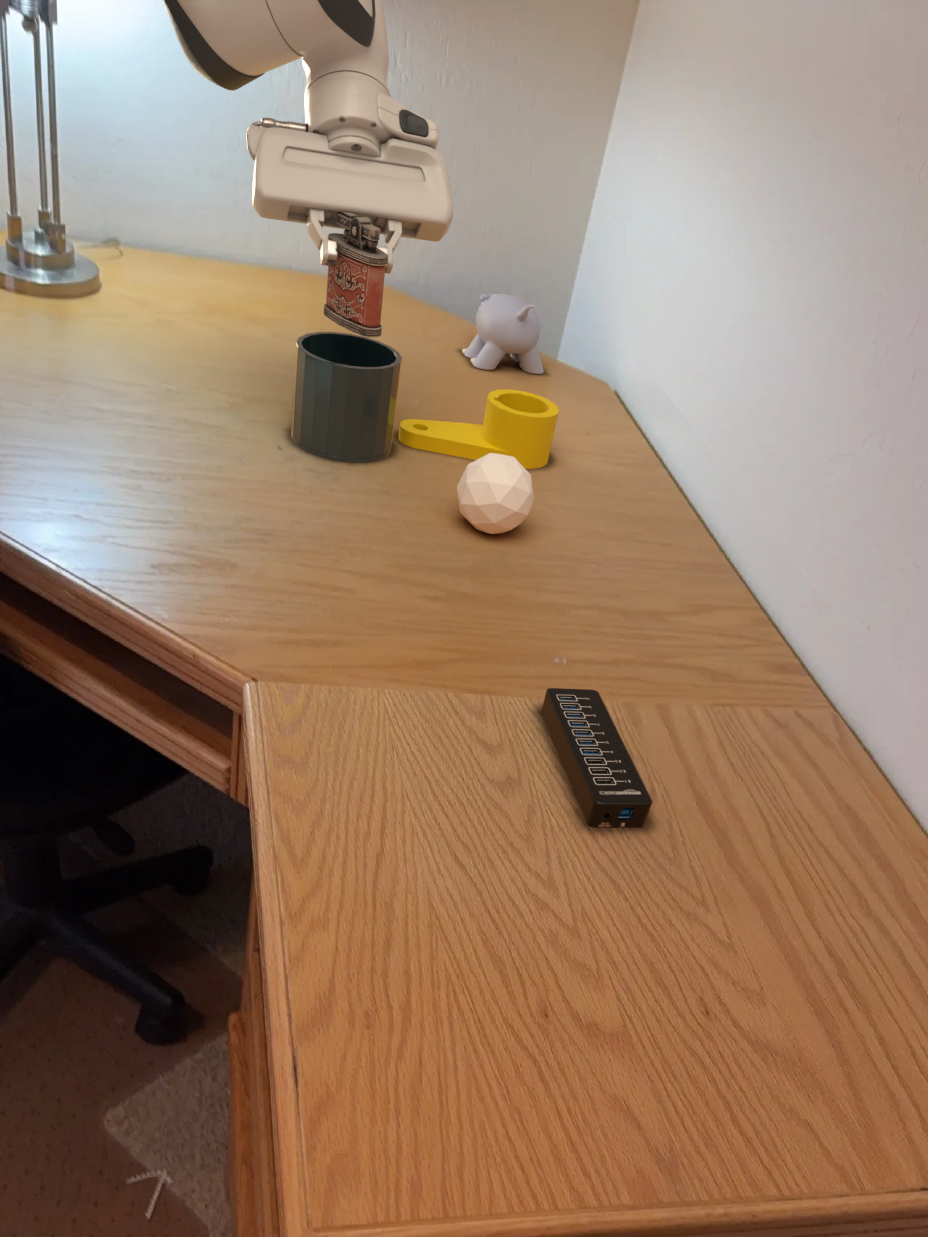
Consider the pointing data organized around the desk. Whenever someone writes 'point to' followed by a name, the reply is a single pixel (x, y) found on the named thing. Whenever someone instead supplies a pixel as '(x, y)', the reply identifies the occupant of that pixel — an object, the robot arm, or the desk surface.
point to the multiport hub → (595, 759)
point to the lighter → (356, 277)
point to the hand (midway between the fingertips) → (357, 266)
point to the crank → (492, 430)
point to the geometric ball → (495, 493)
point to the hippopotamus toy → (505, 333)
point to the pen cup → (344, 396)
